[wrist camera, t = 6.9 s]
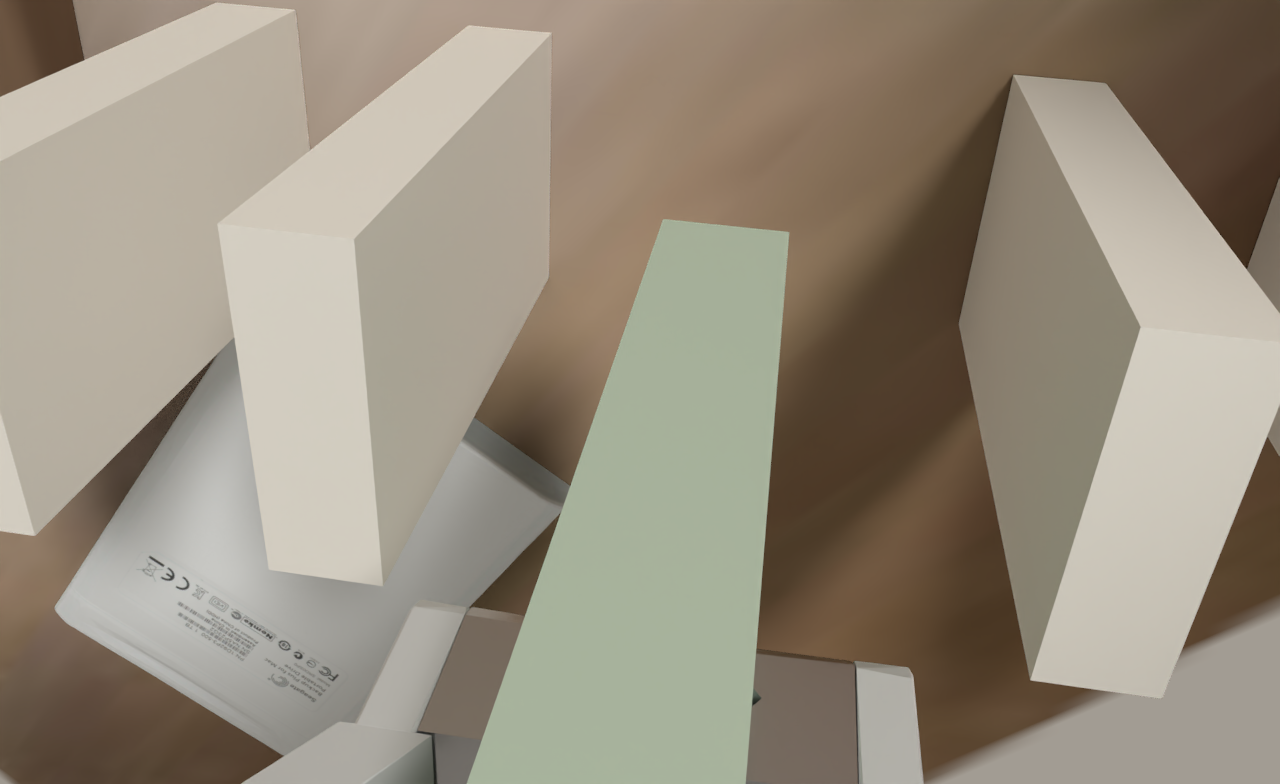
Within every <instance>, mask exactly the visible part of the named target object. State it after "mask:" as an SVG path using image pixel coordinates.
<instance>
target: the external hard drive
mask: <svg viewBox="0 0 1280 784" xmlns="http://www.w3.org/2000/svg"><path fill="white" fill-rule="evenodd" d="M569 488H570V486H569V485H568V484H567V483H565V482H564V481H562V480H561V479H559V478H558V477H557V476H555V475H554V474H552V473H551V472H550V471H548V470H547V469H545V468H544V467H543V466H541V465H540V464H538V463H537V462H536V461H534V460H533V459H531V458H530V457H529V456H527V455H526V454H524V453H523V452H522V451H520V450H519V449H517V448H516V447H515V446H513V445H512V444H510V443H509V442H508V441H506V440H505V439H503V438H502V437H501V436H499V435H498V434H496V433H495V432H494V431H492V430H491V429H489V428H488V427H487V426H485V425H484V424H482V423H481V422H480V421H478V420H477V419H475V418H473V420H472V422H471V424H470V425H469V427H468V429H467V431H466V433H465V435H464V437H463V438H462V440H461V442H460V444H459V446H458V448H457V450H456V452H455V453H454V455H453V457H452V459H451V461H450V463H449V465H448V466H447V468H446V470H445V472H444V474H443V476H442V478H441V479H440V481H439V483H438V485H437V487H436V489H435V491H434V493H433V494H432V496H431V498H430V500H429V502H428V504H427V506H426V507H425V509H424V511H423V513H422V515H421V517H420V519H419V520H418V522H417V524H416V526H415V528H414V530H413V532H412V534H411V535H410V537H409V539H408V541H407V543H406V545H405V547H404V548H403V550H402V552H401V554H400V556H399V558H398V560H397V561H396V563H395V565H394V567H393V569H392V571H391V573H390V575H389V576H388V578H387V580H386V582H385V584H384V586H377V585H370V584H363V583H357V582H350V581H343V580H336V579H329V578H322V577H315V576H309V575H302V574H295V573H288V572H281V571H274V570H269V567H268V560H267V553H266V546H265V540H264V533H263V526H262V520H261V513H260V506H259V500H258V493H257V486H256V479H255V473H254V466H253V459H252V453H251V446H250V439H249V433H248V426H247V419H246V413H245V406H244V399H243V392H242V386H241V379H240V372H239V366H238V359H237V352H236V346H235V339H234V338H233V339H232V340H231V341H230V342H229V343H228V344H227V345H226V346H225V347H224V348H223V349H222V350H221V351H220V352H219V353H218V354H217V356H216V358H215V359H214V361H213V362H212V364H211V365H210V367H209V369H208V370H207V372H206V373H205V375H204V376H203V378H202V379H201V381H200V382H199V384H198V385H197V387H196V389H195V390H194V392H193V393H192V395H191V396H190V398H189V399H188V401H187V402H186V404H185V405H184V407H183V409H182V410H181V412H180V413H179V415H178V416H177V418H176V419H175V421H174V423H173V424H172V426H171V427H170V429H169V430H168V432H167V433H166V435H165V437H164V438H163V440H162V441H161V443H160V444H159V446H158V447H157V449H156V451H155V452H154V454H153V455H152V457H151V458H150V460H149V461H148V463H147V465H146V466H145V468H144V469H143V471H142V472H141V474H140V475H139V477H138V478H137V480H136V481H135V483H134V484H133V486H132V488H131V489H130V491H129V492H128V494H127V495H126V497H125V498H124V500H123V502H122V503H121V505H120V506H119V508H118V509H117V511H116V512H115V514H114V515H113V517H112V519H111V520H110V522H109V523H108V525H107V526H106V528H105V529H104V531H103V532H102V534H101V536H100V537H99V539H98V540H97V542H96V543H95V545H94V546H93V548H92V550H91V551H90V553H89V554H88V556H87V558H86V559H85V561H84V562H83V564H82V565H81V567H80V568H79V570H78V572H77V573H76V575H75V576H74V578H73V580H72V581H71V583H70V584H69V586H68V587H67V589H66V590H65V592H64V593H63V595H62V596H61V598H60V600H59V601H58V602H57V604H56V605H55V610H56V612H57V613H58V615H59V616H60V617H61V618H62V619H63V620H64V621H65V622H66V623H67V624H68V625H70V626H72V627H74V628H76V629H77V630H79V631H80V632H82V633H84V634H85V635H87V636H88V637H90V638H92V639H93V640H95V641H97V642H98V643H100V644H101V645H103V646H105V647H106V648H108V649H110V650H111V651H113V652H115V653H116V654H118V655H120V656H121V657H123V658H125V659H127V660H128V661H130V662H132V663H133V664H135V665H137V666H138V667H140V668H142V669H143V670H145V671H147V672H148V673H150V674H152V675H153V676H155V677H157V678H158V679H160V680H161V681H163V682H165V683H166V684H168V685H170V686H171V687H173V688H174V689H176V690H178V691H179V692H181V693H182V694H184V695H186V696H187V697H189V698H190V699H192V700H194V701H195V702H197V703H198V704H200V705H202V706H203V707H205V708H207V709H208V710H210V711H211V712H213V713H215V714H216V715H218V716H219V717H221V718H223V719H224V720H226V721H228V722H229V723H231V724H233V725H234V726H236V727H238V728H239V729H241V730H243V731H244V732H246V733H247V734H249V735H251V736H252V737H254V738H256V739H257V740H259V741H261V742H262V743H264V744H265V745H267V746H268V747H270V748H272V749H273V750H275V751H277V752H278V753H280V754H281V755H283V756H285V755H287V754H288V753H290V752H292V751H293V750H295V749H296V748H298V747H299V746H301V745H303V744H304V743H306V742H307V741H309V740H311V739H312V738H314V737H315V736H317V735H318V734H320V733H322V732H323V731H325V730H326V729H328V728H329V727H331V726H333V725H334V724H336V723H337V722H347V723H355V721H356V719H357V717H358V715H359V713H360V711H361V709H362V707H363V705H364V703H365V701H366V699H367V697H368V695H369V693H370V691H371V689H372V687H373V685H374V682H375V680H376V678H377V676H378V674H379V672H380V670H381V668H382V666H383V664H384V662H385V660H386V658H387V656H388V654H389V652H390V650H391V648H392V646H393V644H394V642H395V639H396V637H397V635H398V633H399V631H400V629H401V627H402V625H403V623H404V621H405V619H406V617H407V615H408V613H409V611H410V609H411V608H412V607H413V606H414V605H416V604H417V603H418V602H419V601H420V600H427V601H433V602H439V603H445V604H451V605H457V606H463V607H468V608H469V607H470V606H471V605H472V604H473V603H474V602H475V601H476V600H477V599H478V598H479V597H480V596H481V595H482V594H483V593H484V592H485V591H486V589H487V588H488V587H489V586H490V585H491V584H492V583H493V582H494V581H495V580H496V579H497V578H498V577H499V576H500V575H501V574H502V573H503V572H504V571H505V570H506V569H507V568H508V567H509V566H510V565H511V563H512V562H513V561H514V560H515V559H516V558H517V557H518V556H519V555H520V554H521V553H522V552H523V551H524V550H525V549H526V548H527V547H528V546H529V545H530V544H531V543H532V542H533V541H534V540H535V539H536V538H537V537H538V536H539V535H540V534H541V533H542V532H543V531H544V530H545V529H546V528H547V527H548V526H549V524H550V523H551V522H552V521H553V520H554V519H555V518H556V517H557V516H558V515H559V514H560V513H561V511H562V509H563V506H564V503H565V500H566V497H567V494H568V491H569Z"/></svg>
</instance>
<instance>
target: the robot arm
mask: <svg viewBox="0 0 1280 784" xmlns="http://www.w3.org/2000/svg"><path fill="white" fill-rule="evenodd" d="M524 618H525V615H519V614H513V613H507V612H501V611H494V610H488V609H482V608H476V607H472V608H468V607H463V606H457V605H451V604H445V603H439V602H433V601H427V600H420V601H419V602H418V603H417V604H416V605H414V606H413V607H412V608H411V609H410V611H409V613H408V615H407V617H406V619H405V621H404V623H403V625H402V627H401V629H400V631H399V633H398V635H397V637H396V639H395V642H394V644H393V646H392V648H391V650H390V652H389V654H388V656H387V658H386V660H385V662H384V664H383V666H382V668H381V670H380V672H379V674H378V676H377V678H376V680H375V682H374V685H373V687H372V689H371V691H370V693H369V695H368V697H367V699H366V701H365V703H364V705H363V707H362V709H361V711H360V713H359V715H358V717H357V719H356V721H355V723H347V722H337V723H336V724H334V725H333V726H331V727H329V728H328V729H326V730H325V731H323V732H322V733H320V734H318V735H317V736H315V737H314V738H312V739H311V740H309V741H307V742H306V743H304V744H303V745H301V746H299V747H298V748H296V749H295V750H293V751H292V752H290V753H288V754H287V755H285V756H284V757H282V758H281V759H279V760H277V761H276V762H274V763H273V764H271V765H270V766H268V767H266V768H265V769H263V770H262V771H260V772H259V773H257V774H255V775H254V776H252V777H251V778H249V779H247V780H246V781H244V782H243V783H241V784H467V781H468V778H469V776H470V773H471V770H472V767H473V764H474V761H475V758H476V756H477V753H478V750H479V747H480V744H481V741H482V738H483V735H484V733H485V730H486V727H487V724H488V721H489V718H490V715H491V712H492V710H493V707H494V704H495V701H496V698H497V695H498V692H499V689H500V687H501V684H502V681H503V678H504V675H505V672H506V669H507V667H508V664H509V661H510V658H511V655H512V652H513V649H514V646H515V644H516V641H517V638H518V635H519V632H520V629H521V626H522V623H523V621H524ZM746 784H924V782H923V771H922V761H921V751H920V740H919V730H918V720H917V709H916V699H915V689H914V678H913V674H912V673H911V671H910V670H909V668H908V667H901V666H893V665H885V664H877V663H869V662H860V661H854V662H853V663H852V662H851V661H847V660H839V659H831V658H824V657H816V656H809V655H801V654H793V653H786V652H778V651H771V650H763V649H756V659H755V672H754V684H753V697H752V710H751V722H750V735H749V748H748V760H747V773H746Z"/></svg>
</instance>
